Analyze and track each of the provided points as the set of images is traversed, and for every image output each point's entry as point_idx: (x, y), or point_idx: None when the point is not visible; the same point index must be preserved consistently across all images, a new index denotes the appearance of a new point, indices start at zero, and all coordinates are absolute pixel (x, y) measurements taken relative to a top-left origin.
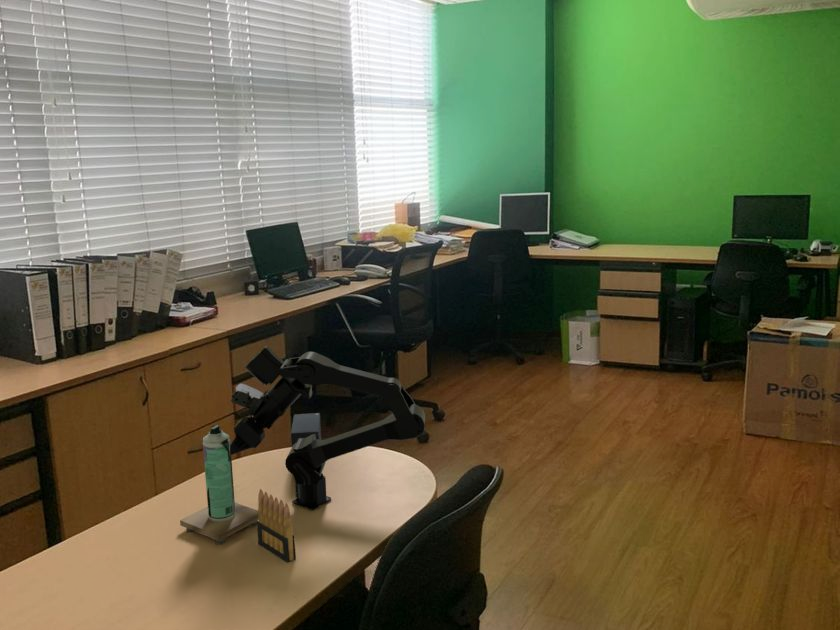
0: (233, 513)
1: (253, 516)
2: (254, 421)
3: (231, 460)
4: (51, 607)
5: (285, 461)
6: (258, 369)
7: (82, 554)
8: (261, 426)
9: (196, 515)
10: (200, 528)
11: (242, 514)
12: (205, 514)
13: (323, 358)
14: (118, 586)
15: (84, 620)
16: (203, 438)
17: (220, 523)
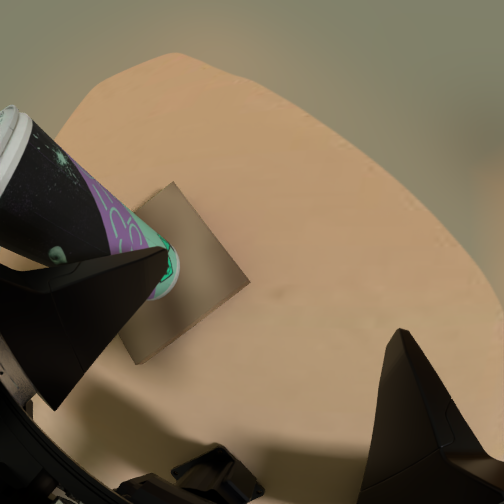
0: None
1: (123, 339)
2: (408, 475)
3: (34, 260)
4: (92, 102)
5: (142, 485)
6: None
7: (180, 86)
8: (65, 491)
9: (178, 211)
10: None
11: (140, 316)
12: (174, 231)
13: None
14: (85, 144)
15: (58, 136)
16: (4, 109)
17: None
